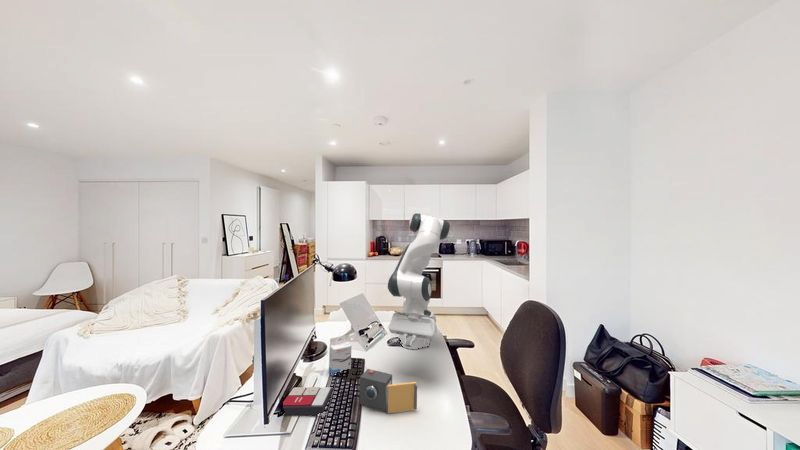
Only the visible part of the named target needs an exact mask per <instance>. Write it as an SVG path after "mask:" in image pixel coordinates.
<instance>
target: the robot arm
mask: <svg viewBox="0 0 800 450" xmlns="http://www.w3.org/2000/svg"><path fill="white" fill-rule="evenodd" d="M408 226H409V230H410V232H412V233H414V234H415V233H416V234H417V235H416V237H415V239H414V240H413V241H412V242H411V243H409V244H407V246H406V247H405V249H404V251H403V253H402V254H401V257H400V259H399V260H398V262H397V264H396V267H395V268H394V271H393V273H392V274H391V275H390V277H389V278H388V283H387V289H388V292H389V293H390V294H391V295H392V297H399V298H400V297H403V298H405V300H404V301H403V303H402V304H403V305H402V312H400V311H396V312H394V313H393V314H392V316H391V320H390V322H389V325H388V327H387V329H388V330H389V332H390V333H391V334H394V335H398V338H400V340H401V342H402V343H403V344H402V346H403V347H402V346H401V347H402V348H405V349H410V350H417V349H418V348H419V349H423V348H428V347H427V346H429V347H430V345H429V343H430V344H431V340H432V341H434V340H435V339H436V338H437V334H438V333H437V331H438V327H437V317H436V315H435V313H434V312H433V311H431V310H429V309H428V305H430V304H429V303H430V300H431V297H432V293H433V286H432V282H431V281H430V280H429V278H427V277H426V276H424V275H422V274H423V273H424V271H425V269H426V268H427V267H428V266H429V264H430V261H431V258H432V254H434V253H435V252H436V251H437V250H438V247H439V244H440V241H441V240H445V239H447V237H448V236H449V235H450V232H451V224H450V222H449V221H448V220H445V219H442V218H439V217H436V216H433V215H432V216H431V215H427V214H421V213H416V212H415V213H414V214H412V215H411V217H410V219H409V223H408ZM422 347H423V348H422Z"/></svg>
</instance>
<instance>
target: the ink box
mask: <svg viewBox="0 0 800 450" xmlns="http://www.w3.org/2000/svg"><path fill="white" fill-rule="evenodd" d="M339 339H340V340H339ZM328 356H329V359H328V360H329V361H328V373H329V374H330V373H332V374H334V373H337V372H340V371H343V370H347V369H352V344H351V343H350V342H349V341H348V334H347V335H340V336H335V337H331V338H330V339H329V355H328Z"/></svg>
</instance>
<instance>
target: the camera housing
mask: <svg viewBox="0 0 800 450" xmlns="http://www.w3.org/2000/svg"><path fill="white" fill-rule="evenodd" d="M392 384H393V374H392V373H388V372H383V371H381V370H375V369H371V368H367V369H366V370H365V371H364V372H363V373H362V374H361V375H360V377H359V405H360V404H361V407H364V408H369V409H372V410H374V411H378V412H381V413H385V404H386V385H392Z"/></svg>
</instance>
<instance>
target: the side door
mask: <svg viewBox="0 0 800 450" xmlns="http://www.w3.org/2000/svg"><path fill="white" fill-rule="evenodd" d="M417 406H418V384H417V381H411V382H402V383H394V384H393V383H392V385H386V404H385V412H384V413H385V414H390V413H399V412H406V411H412V410H417V409H418V407H417Z"/></svg>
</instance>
